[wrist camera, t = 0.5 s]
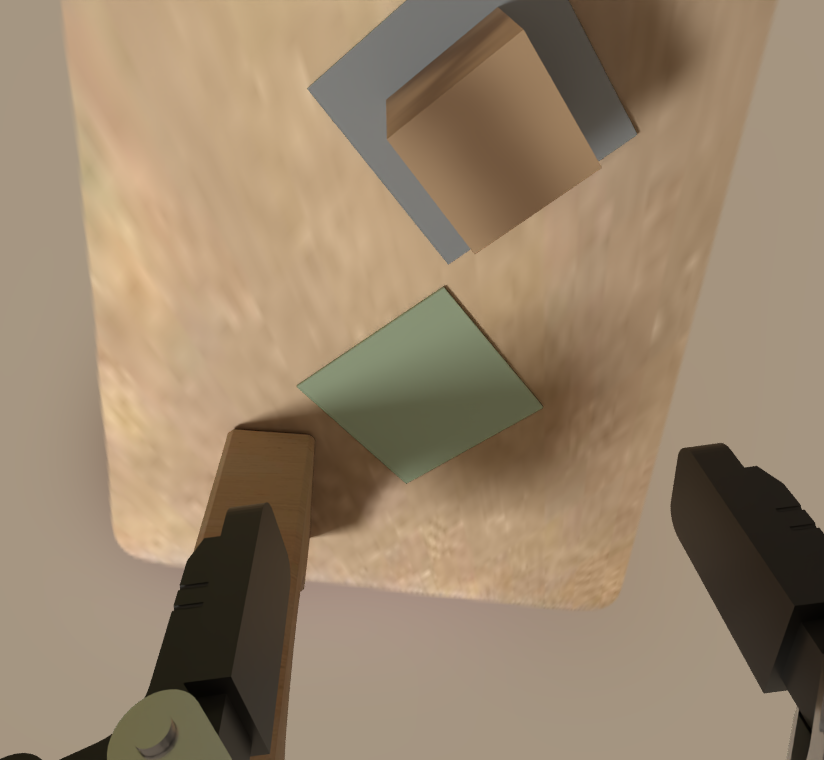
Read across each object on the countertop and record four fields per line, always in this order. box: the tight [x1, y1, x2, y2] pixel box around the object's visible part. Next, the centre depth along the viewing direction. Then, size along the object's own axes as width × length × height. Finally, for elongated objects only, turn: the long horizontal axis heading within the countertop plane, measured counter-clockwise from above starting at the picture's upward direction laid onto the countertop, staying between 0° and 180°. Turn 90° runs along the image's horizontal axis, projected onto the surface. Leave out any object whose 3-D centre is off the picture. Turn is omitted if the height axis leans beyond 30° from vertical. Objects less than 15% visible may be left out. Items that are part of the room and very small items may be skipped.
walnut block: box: [386, 7, 602, 254], centre depth 26 cm, size 6×6×6 cm
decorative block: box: [194, 429, 315, 760], centre depth 35 cm, size 11×6×20 cm, turn 171°
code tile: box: [307, 0, 637, 264], centre depth 29 cm, size 11×11×1 cm
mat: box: [297, 287, 543, 484], centre depth 39 cm, size 11×11×1 cm
